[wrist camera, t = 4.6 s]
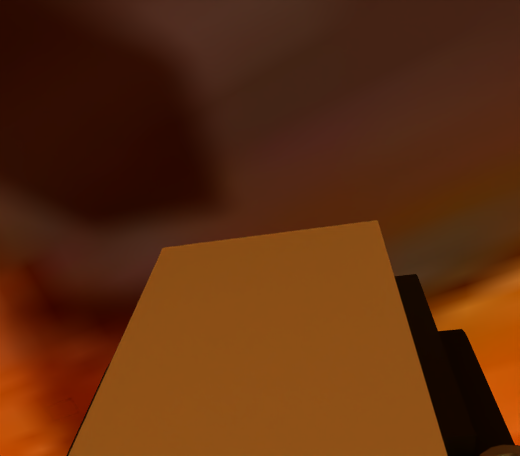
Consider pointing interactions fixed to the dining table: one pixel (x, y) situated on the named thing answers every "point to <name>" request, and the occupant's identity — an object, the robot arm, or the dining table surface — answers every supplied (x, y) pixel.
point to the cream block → (267, 355)
